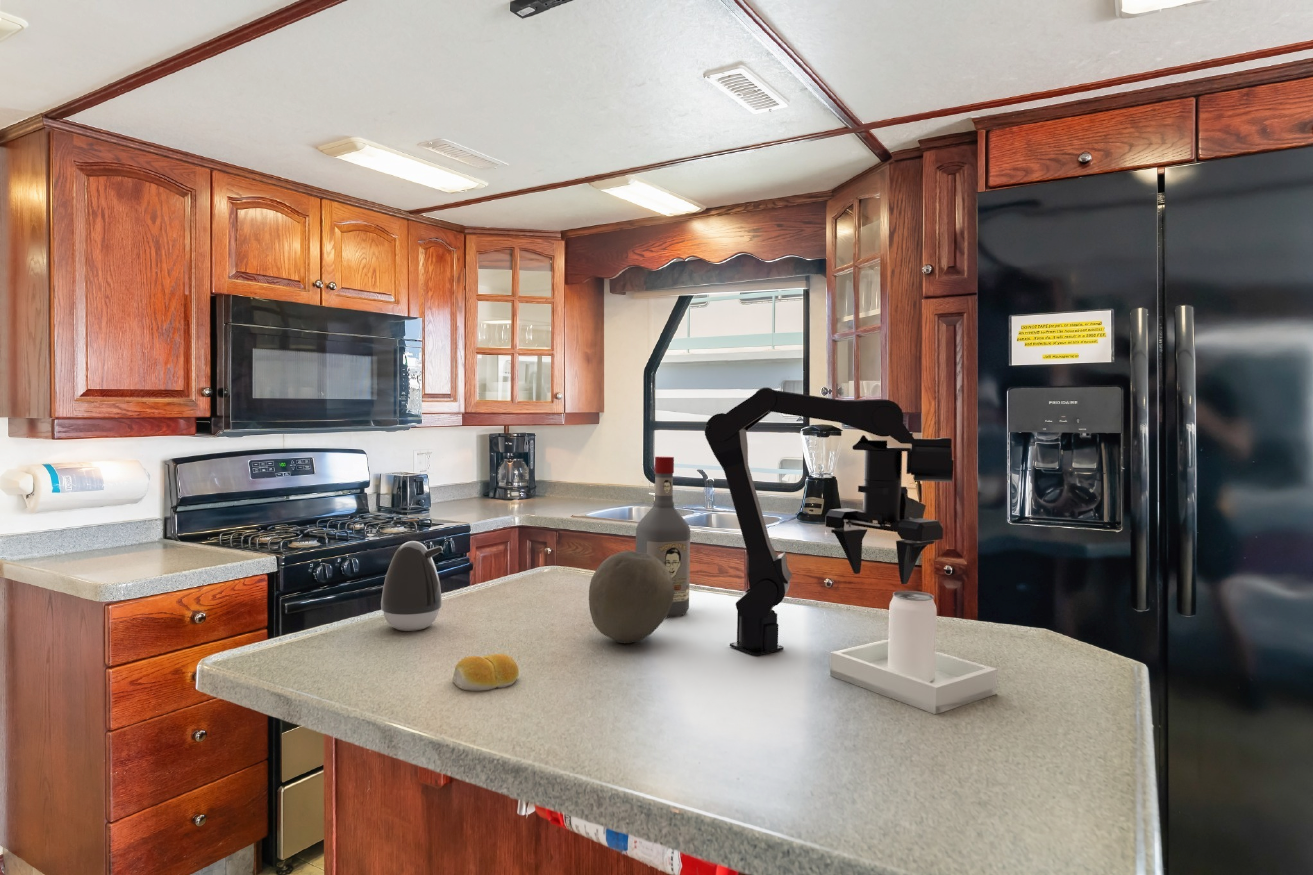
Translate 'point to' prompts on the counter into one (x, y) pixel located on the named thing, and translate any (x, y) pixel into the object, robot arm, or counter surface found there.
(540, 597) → the counter surface
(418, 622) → the pump dispenser
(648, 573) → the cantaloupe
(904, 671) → the can
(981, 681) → the tray
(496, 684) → the bread roll
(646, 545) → the liquor
